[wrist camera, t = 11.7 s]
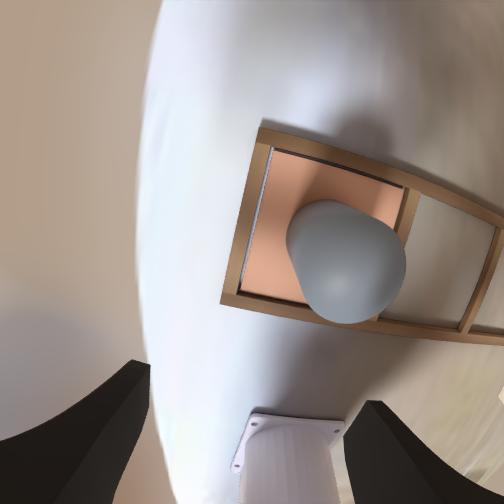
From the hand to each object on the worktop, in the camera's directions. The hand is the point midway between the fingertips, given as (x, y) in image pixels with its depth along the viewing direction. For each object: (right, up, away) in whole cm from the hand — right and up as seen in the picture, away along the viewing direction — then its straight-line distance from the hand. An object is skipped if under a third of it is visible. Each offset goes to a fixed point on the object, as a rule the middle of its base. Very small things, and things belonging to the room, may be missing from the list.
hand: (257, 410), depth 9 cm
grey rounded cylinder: (+4, +6, +8) cm, 10 cm away
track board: (+13, +4, +8) cm, 16 cm away
